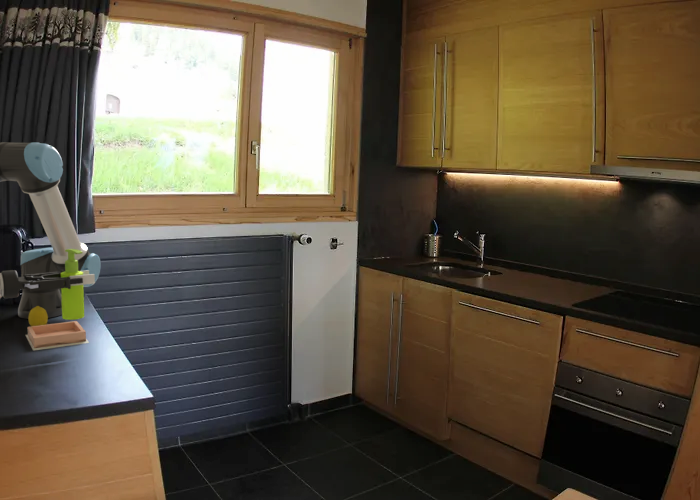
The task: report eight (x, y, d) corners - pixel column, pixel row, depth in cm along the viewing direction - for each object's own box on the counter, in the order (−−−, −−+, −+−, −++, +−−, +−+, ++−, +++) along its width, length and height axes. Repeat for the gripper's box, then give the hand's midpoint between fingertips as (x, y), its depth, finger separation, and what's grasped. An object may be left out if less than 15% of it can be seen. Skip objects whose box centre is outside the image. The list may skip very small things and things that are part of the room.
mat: (25, 336, 192) (25, 335, 192) (77, 330, 201) (77, 328, 201) (33, 352, 178) (33, 350, 178) (89, 344, 186) (89, 342, 186)
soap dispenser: (73, 321, 176) (70, 252, 173) (57, 317, 180) (55, 249, 176) (91, 317, 181) (89, 249, 178) (75, 313, 185) (73, 246, 181)
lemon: (40, 333, 197) (39, 308, 195) (25, 332, 198) (23, 307, 196) (52, 328, 202) (51, 304, 201) (37, 327, 203) (35, 303, 202)
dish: (28, 336, 191) (27, 326, 190) (77, 330, 199) (76, 320, 198) (34, 348, 179) (33, 338, 179) (86, 341, 187) (85, 331, 187)
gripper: (-2, 292, 177) (84, 283, 190) (6, 305, 162) (100, 295, 175) (-4, 265, 176) (83, 259, 189) (4, 277, 161) (98, 269, 174)
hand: (91, 276), depth 182 cm, fingers closed on soap dispenser, 6 cm apart
